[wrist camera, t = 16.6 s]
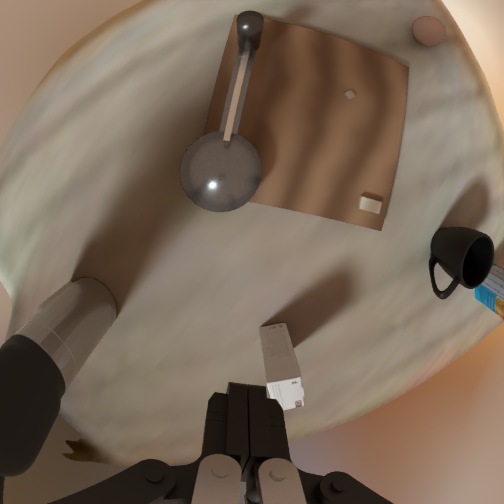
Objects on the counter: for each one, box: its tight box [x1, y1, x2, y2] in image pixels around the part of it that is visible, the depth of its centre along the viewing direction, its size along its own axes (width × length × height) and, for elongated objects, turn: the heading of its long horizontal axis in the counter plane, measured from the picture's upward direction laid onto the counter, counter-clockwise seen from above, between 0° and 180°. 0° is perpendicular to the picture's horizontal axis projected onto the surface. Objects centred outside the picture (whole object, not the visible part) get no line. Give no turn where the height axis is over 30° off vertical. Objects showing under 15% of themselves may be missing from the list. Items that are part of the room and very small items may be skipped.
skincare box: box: [259, 323, 305, 410], centre depth 35 cm, size 6×4×12 cm
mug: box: [429, 227, 494, 299], centre depth 33 cm, size 8×12×10 cm
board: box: [204, 15, 409, 231], centre depth 30 cm, size 25×25×3 cm
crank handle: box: [180, 11, 264, 212], centre depth 26 cm, size 22×9×8 cm, turn 169°
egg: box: [412, 16, 446, 46], centre depth 24 cm, size 5×5×7 cm
